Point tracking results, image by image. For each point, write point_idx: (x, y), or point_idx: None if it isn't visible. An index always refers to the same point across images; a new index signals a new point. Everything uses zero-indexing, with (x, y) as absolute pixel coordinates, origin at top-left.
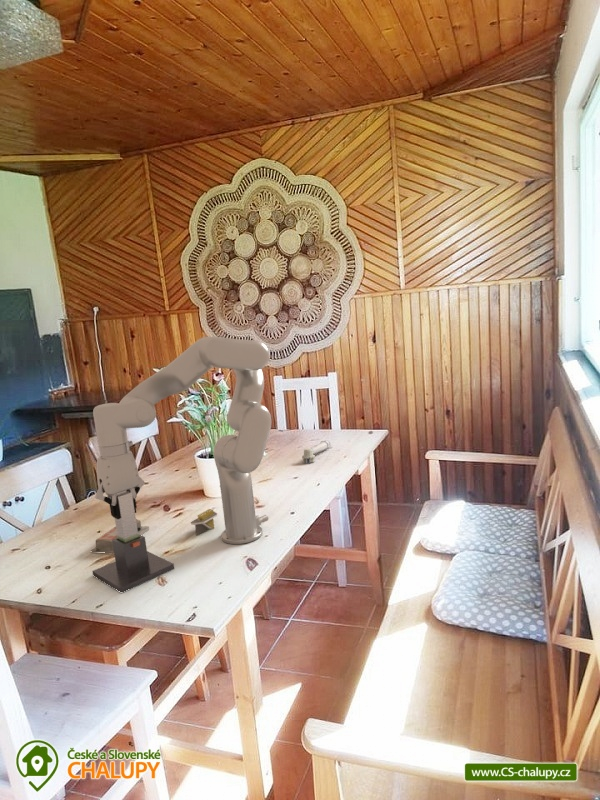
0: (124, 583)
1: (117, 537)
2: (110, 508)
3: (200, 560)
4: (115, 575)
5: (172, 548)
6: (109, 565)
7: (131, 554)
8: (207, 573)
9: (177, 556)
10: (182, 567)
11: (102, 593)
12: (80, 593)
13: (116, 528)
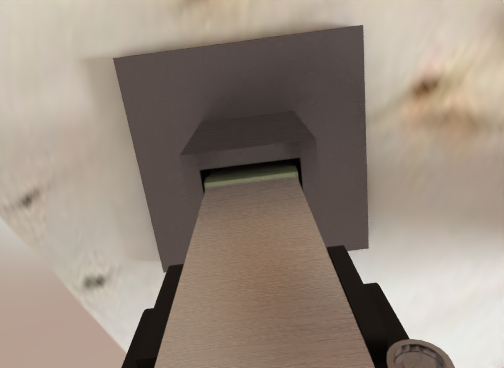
0: (184, 255)
1: (206, 180)
2: (128, 360)
3: (453, 248)
4: (178, 174)
5: (461, 70)
6: (186, 65)
7: None
8: (408, 333)
9: (426, 158)
10: (385, 248)
11: (118, 218)
12: (54, 162)
13: (201, 204)
